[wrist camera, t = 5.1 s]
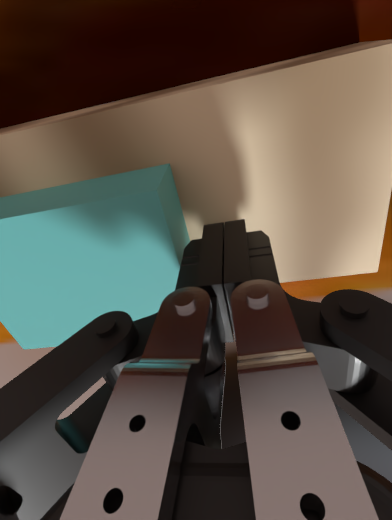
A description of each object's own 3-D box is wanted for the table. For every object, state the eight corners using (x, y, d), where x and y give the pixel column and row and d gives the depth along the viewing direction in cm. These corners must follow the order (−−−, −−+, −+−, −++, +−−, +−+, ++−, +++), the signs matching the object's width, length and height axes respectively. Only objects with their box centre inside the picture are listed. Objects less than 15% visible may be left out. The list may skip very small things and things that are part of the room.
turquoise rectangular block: (169, 163, 10) (156, 190, 8) (203, 291, 14) (200, 333, 12) (-22, 202, 12) (-73, 232, 10) (50, 309, 15) (23, 349, 13)
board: (360, 42, 11) (416, 37, 8) (344, 226, 16) (377, 271, 12) (-36, 137, 14) (-113, 162, 11) (43, 268, 19) (6, 313, 15)
